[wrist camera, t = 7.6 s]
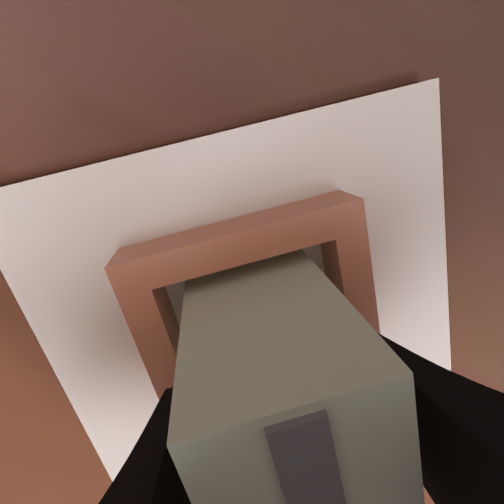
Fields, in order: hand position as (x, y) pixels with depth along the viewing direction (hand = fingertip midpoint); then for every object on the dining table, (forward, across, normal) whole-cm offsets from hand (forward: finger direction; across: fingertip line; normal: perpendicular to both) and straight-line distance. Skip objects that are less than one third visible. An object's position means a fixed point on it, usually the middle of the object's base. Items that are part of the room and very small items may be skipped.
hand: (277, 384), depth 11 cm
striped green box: (+3, 0, 0) cm, 3 cm away
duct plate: (+4, 0, 0) cm, 4 cm away
